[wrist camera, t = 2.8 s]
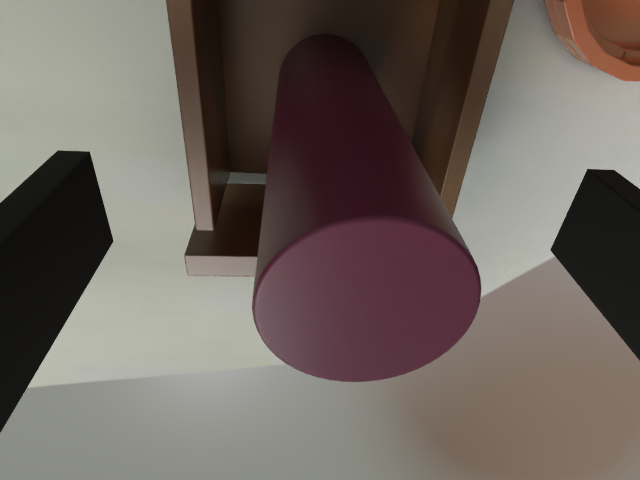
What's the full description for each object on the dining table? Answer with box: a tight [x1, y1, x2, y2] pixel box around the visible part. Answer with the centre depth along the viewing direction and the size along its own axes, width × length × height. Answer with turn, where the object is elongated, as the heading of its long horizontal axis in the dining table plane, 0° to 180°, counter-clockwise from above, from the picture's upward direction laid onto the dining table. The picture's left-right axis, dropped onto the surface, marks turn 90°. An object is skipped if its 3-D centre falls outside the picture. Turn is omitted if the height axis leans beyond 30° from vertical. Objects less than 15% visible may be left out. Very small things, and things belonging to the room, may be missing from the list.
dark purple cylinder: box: [252, 34, 481, 382], centre depth 14 cm, size 4×4×15 cm
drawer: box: [166, 0, 514, 277], centre depth 20 cm, size 20×12×7 cm, turn 177°
